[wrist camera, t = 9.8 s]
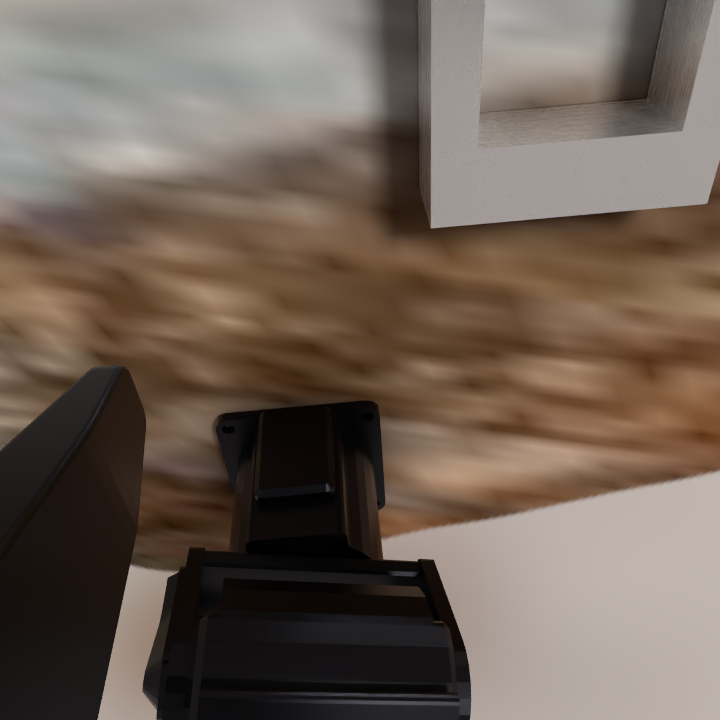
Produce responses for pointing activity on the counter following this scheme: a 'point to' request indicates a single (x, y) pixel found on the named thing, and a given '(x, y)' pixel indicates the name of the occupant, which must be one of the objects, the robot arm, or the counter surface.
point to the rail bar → (565, 129)
